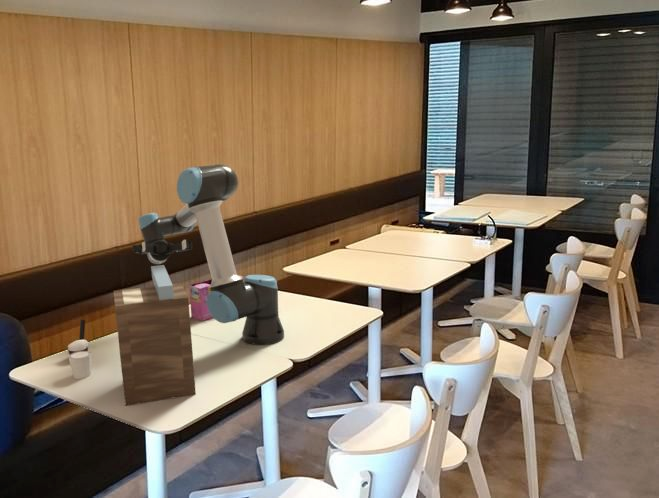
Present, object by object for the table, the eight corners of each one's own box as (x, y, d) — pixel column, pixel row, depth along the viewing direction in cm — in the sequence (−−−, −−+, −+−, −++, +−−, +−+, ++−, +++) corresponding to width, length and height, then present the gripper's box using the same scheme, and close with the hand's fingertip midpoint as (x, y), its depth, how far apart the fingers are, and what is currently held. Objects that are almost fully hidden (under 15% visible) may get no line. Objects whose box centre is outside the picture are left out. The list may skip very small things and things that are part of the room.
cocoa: (74, 364, 219) (70, 331, 216) (62, 360, 222) (58, 328, 219) (97, 354, 227) (93, 322, 223) (85, 350, 230) (81, 318, 226)
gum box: (237, 302, 280) (236, 272, 277) (249, 306, 274) (247, 275, 271) (190, 317, 263) (188, 284, 260) (202, 321, 258) (199, 288, 255)
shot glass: (74, 371, 213) (72, 351, 211) (96, 370, 213) (93, 350, 212) (68, 380, 206) (65, 359, 204) (90, 379, 207) (88, 358, 205)
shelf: (123, 383, 202) (113, 290, 196) (188, 373, 209) (181, 282, 202) (125, 405, 188) (115, 305, 181) (195, 394, 194) (188, 297, 187)
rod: (152, 278, 208) (151, 266, 207) (165, 277, 209) (164, 264, 208) (159, 300, 185) (158, 286, 184) (173, 298, 186) (172, 285, 186)
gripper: (194, 259, 246) (202, 253, 226) (125, 263, 238) (127, 258, 218) (193, 239, 246) (200, 231, 226) (124, 243, 238) (125, 235, 218)
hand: (164, 244), depth 222 cm, fingers open, 13 cm apart
